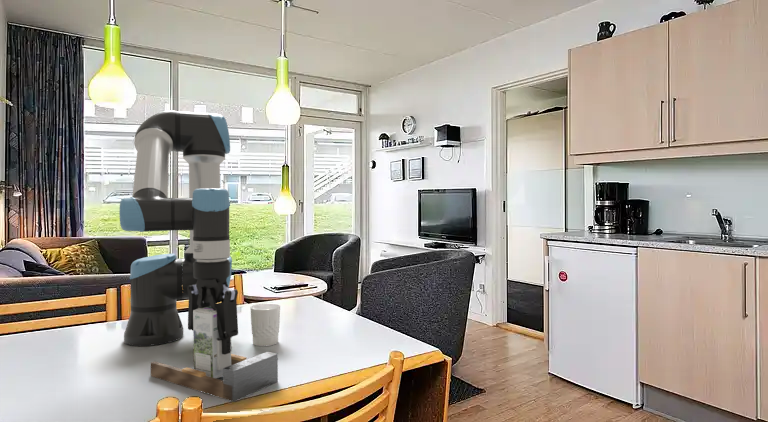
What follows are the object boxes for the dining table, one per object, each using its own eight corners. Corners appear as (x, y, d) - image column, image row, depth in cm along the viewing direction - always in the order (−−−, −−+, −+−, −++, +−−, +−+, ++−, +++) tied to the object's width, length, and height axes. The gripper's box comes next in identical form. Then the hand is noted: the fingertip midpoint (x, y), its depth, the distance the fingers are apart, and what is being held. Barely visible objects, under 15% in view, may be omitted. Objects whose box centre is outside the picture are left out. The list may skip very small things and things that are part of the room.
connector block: (223, 398, 94) (223, 368, 94) (267, 378, 104) (267, 351, 104) (233, 401, 92) (233, 371, 92) (277, 381, 103) (277, 353, 103)
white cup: (272, 348, 126) (272, 310, 126) (245, 346, 128) (245, 309, 127) (285, 339, 134) (284, 304, 133) (258, 338, 135) (258, 302, 135)
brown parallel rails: (150, 376, 106) (150, 360, 106) (197, 360, 116) (197, 345, 116) (231, 401, 93) (231, 383, 93) (276, 380, 103) (276, 364, 103)
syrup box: (232, 371, 106) (232, 306, 105) (212, 380, 100) (211, 311, 100) (213, 367, 108) (212, 303, 108) (192, 376, 103) (191, 309, 103)
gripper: (168, 258, 105) (170, 362, 106) (227, 264, 96) (229, 379, 96) (197, 255, 112) (198, 353, 112) (256, 260, 102) (256, 368, 103)
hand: (212, 365), depth 104 cm, fingers closed on syrup box, 6 cm apart
